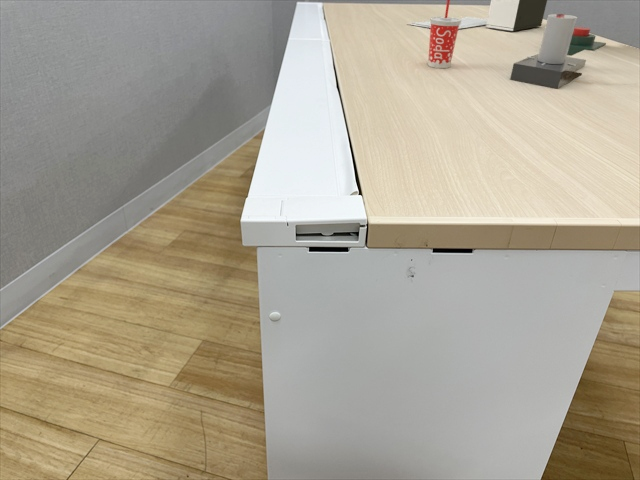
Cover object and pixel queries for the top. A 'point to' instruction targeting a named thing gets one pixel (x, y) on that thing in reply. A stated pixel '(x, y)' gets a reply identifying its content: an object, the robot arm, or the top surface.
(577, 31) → the stop button
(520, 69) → the tap block
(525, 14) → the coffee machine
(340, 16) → the top surface
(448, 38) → the beverage cup
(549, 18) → the light grey cylinder
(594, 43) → the button box
